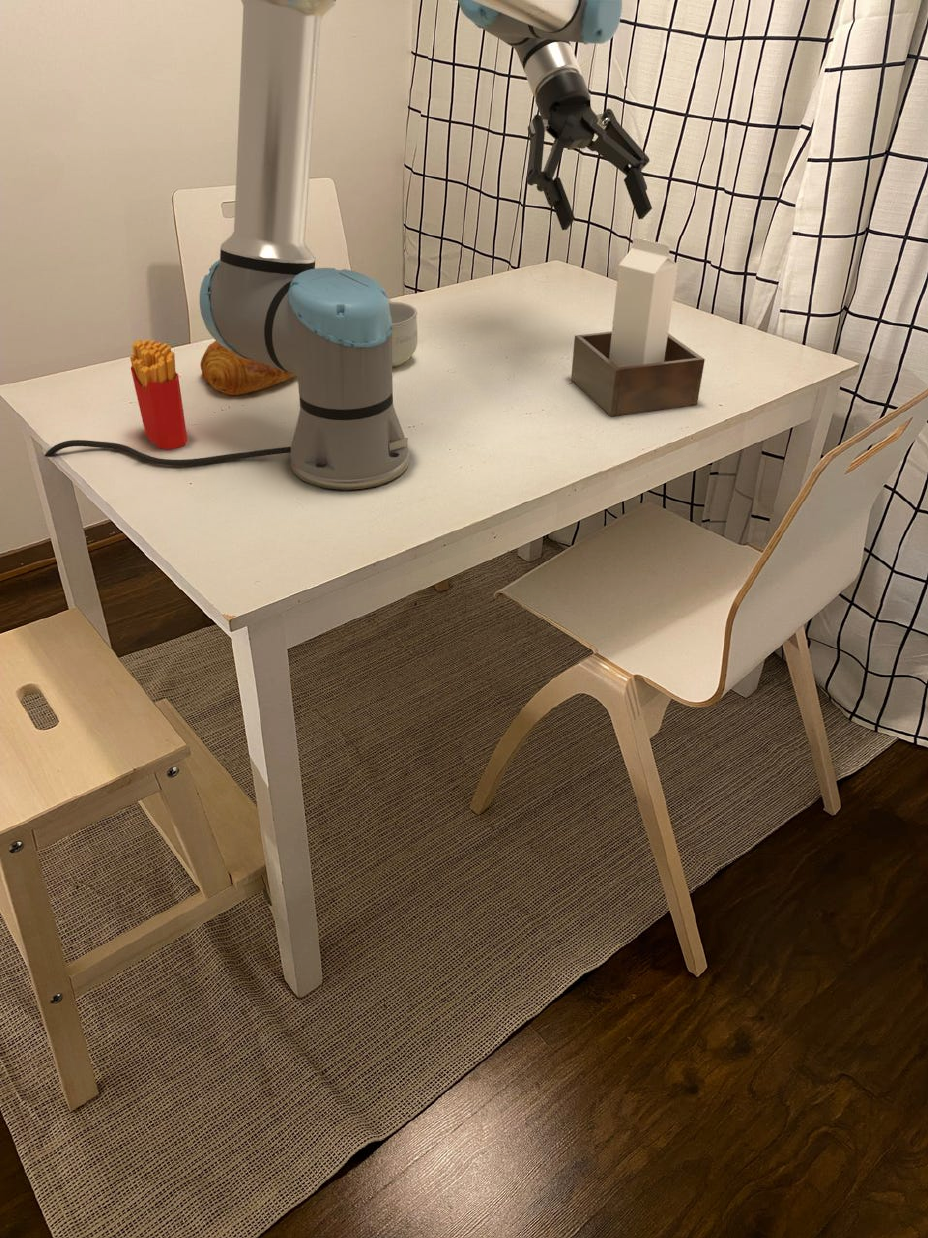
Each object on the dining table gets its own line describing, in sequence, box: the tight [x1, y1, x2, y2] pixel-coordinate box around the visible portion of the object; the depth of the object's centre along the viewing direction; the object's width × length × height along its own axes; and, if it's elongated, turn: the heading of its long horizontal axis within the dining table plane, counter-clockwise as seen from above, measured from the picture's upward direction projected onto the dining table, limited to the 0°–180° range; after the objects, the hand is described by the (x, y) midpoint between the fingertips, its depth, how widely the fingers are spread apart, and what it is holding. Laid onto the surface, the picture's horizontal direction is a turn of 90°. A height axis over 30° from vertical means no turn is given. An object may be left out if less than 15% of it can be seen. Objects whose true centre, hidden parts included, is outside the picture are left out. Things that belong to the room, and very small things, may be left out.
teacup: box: [388, 298, 418, 368], centre depth 153 cm, size 14×11×8 cm
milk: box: [609, 236, 679, 368], centre depth 139 cm, size 6×6×22 cm
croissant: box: [199, 340, 295, 396], centre depth 146 cm, size 14×16×8 cm
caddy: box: [570, 330, 705, 417], centre depth 143 cm, size 14×14×7 cm
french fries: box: [129, 338, 188, 450], centre depth 126 cm, size 9×4×13 cm, turn 39°
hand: (607, 219), depth 139 cm, fingers open, 13 cm apart
